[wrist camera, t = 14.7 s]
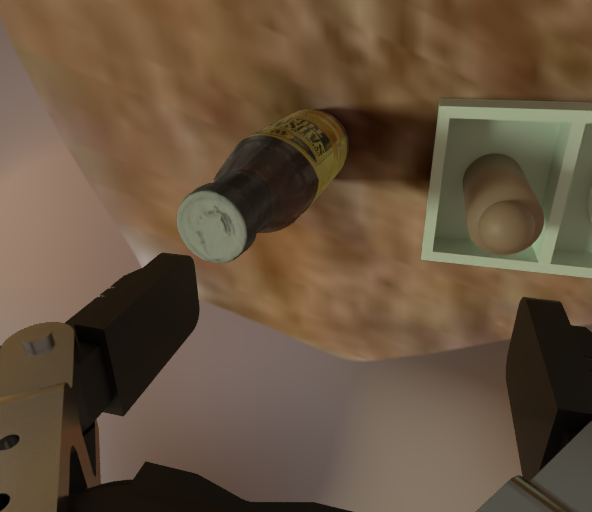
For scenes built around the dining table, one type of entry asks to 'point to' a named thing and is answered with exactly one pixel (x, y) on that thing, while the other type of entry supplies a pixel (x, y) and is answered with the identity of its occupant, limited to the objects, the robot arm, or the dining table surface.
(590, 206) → the eye dropper bottle
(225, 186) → the sauce bottle
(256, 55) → the dining table surface
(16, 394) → the robot arm
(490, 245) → the caddy
